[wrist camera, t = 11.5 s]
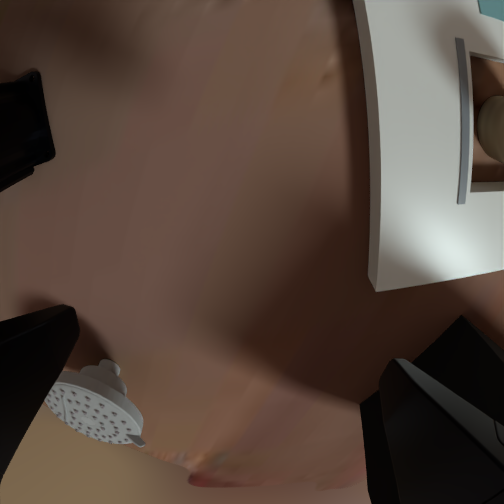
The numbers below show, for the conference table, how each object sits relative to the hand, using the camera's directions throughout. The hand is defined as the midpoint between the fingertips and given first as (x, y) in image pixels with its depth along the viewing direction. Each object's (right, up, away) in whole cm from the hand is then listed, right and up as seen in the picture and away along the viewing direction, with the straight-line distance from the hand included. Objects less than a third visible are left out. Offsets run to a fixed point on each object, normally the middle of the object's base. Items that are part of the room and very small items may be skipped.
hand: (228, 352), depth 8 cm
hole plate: (+18, +12, +8) cm, 23 cm away
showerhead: (-13, -9, +20) cm, 25 cm away
